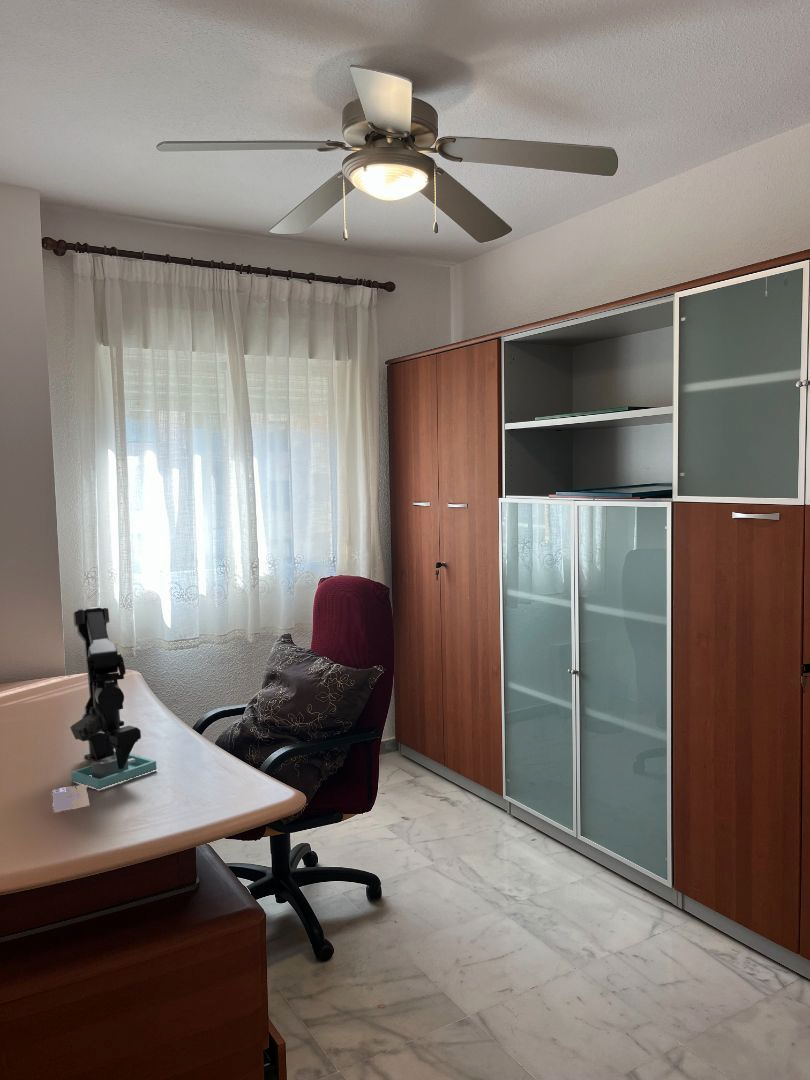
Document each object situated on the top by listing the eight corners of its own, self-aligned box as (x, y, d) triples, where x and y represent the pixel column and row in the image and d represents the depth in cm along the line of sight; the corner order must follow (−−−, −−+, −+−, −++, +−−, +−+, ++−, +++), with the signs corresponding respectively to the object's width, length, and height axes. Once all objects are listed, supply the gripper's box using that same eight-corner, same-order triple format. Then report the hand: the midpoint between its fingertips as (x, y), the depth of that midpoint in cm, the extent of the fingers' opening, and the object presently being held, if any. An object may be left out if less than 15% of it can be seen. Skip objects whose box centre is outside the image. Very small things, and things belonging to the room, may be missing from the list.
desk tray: (71, 782, 188) (71, 771, 188) (129, 762, 201) (128, 753, 201) (98, 791, 181) (98, 780, 181) (156, 771, 194) (156, 761, 194)
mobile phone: (52, 810, 170) (51, 788, 183) (53, 815, 170) (51, 792, 183) (90, 803, 173) (86, 782, 186) (91, 807, 173) (86, 786, 186)
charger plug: (98, 783, 186) (97, 766, 185) (89, 779, 188) (87, 763, 188) (139, 769, 194) (138, 753, 194) (129, 766, 197) (128, 750, 196)
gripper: (53, 704, 189) (58, 768, 190) (97, 715, 177) (101, 783, 178) (96, 694, 197) (100, 755, 198) (140, 703, 186) (144, 768, 187)
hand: (110, 765), depth 190 cm, fingers open, 9 cm apart
